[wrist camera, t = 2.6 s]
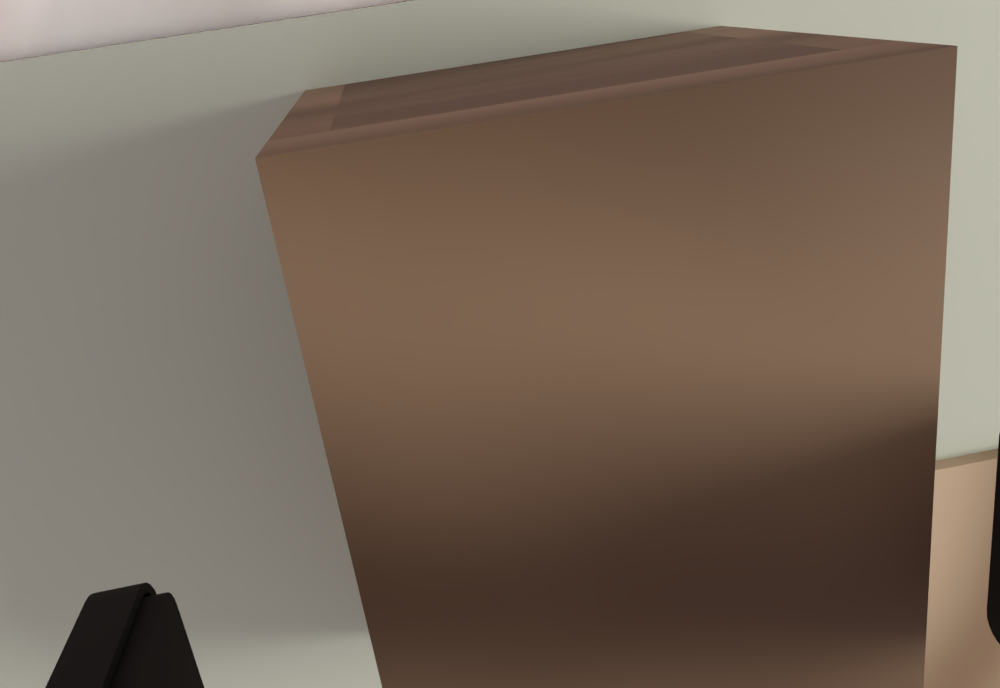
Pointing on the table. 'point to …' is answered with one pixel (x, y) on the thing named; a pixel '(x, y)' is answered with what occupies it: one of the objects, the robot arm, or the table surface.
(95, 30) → the table surface
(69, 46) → the table surface
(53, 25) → the table surface
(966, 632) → the cork pad
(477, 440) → the walnut cover
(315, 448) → the sage board
